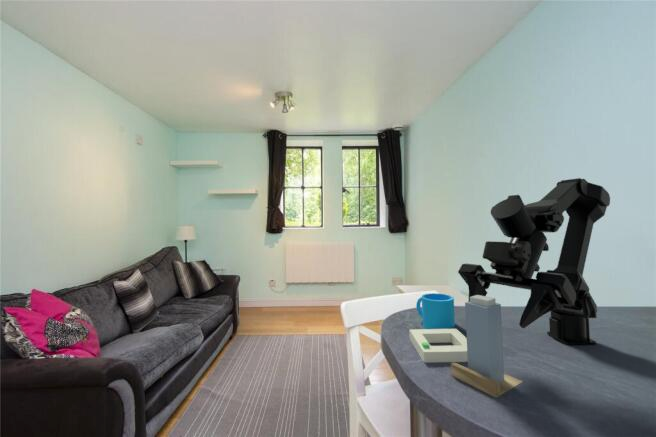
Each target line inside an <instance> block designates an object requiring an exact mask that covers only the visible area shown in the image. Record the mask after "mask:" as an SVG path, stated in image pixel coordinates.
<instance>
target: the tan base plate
mask: <svg viewBox="0 0 656 437" xmlns="http://www.w3.org/2000/svg"><path fill="white" fill-rule="evenodd" d="M450 373H451V374H450V375H451V377H454V378H456V379H458V380H460V381H462V382H464V383H466V384H468V385H470V386H472V387H474V388H476V389H478V390H480V391H482V392H484V393H486V394H488V395H490V396H492V397H494V398H499V397H500V396H501V395H503V394H505V393H507V392H508V391H510V390H512V389H513V388H515V387H518V385H520V384H522V383H523V382H524V381H523V380H521V379H518V378H516V377H514V376H512V375H511V376H510V375H509V374H506V373H504V380H503V381H501V382H500V383H499V382H497V381H495V380H493V379H491V378H488V377H486V376H484V375H482V374H479V373H477V372H475V371H473V370H471V369H468V367H466V366H464V365H462V364H459V363H458V362H451V363H450Z"/></svg>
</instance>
